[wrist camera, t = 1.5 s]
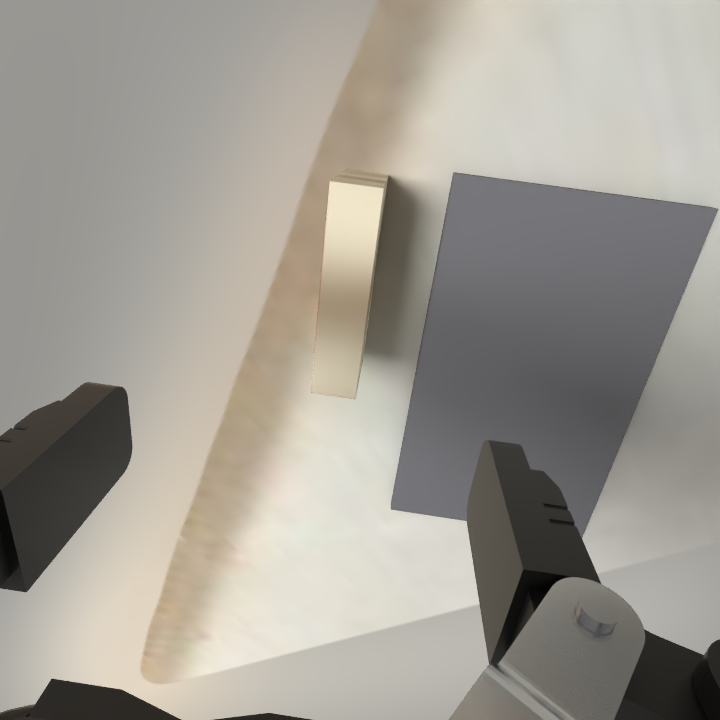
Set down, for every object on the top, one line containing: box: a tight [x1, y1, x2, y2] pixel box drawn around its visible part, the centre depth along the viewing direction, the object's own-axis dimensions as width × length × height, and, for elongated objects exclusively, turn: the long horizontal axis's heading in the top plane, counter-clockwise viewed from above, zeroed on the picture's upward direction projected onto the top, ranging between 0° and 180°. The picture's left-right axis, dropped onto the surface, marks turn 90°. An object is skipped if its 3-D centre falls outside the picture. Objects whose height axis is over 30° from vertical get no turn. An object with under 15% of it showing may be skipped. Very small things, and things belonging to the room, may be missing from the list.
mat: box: [391, 172, 718, 538], centre depth 27 cm, size 20×12×1 cm, turn 173°
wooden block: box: [311, 169, 388, 399], centre depth 23 cm, size 9×2×6 cm, turn 173°
